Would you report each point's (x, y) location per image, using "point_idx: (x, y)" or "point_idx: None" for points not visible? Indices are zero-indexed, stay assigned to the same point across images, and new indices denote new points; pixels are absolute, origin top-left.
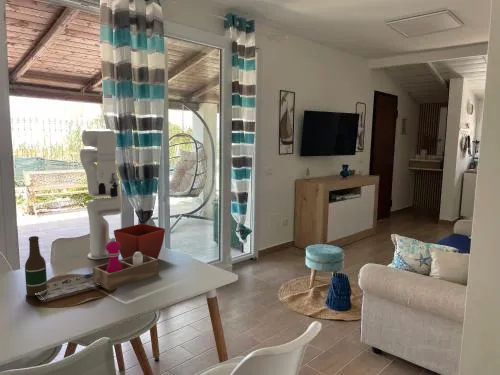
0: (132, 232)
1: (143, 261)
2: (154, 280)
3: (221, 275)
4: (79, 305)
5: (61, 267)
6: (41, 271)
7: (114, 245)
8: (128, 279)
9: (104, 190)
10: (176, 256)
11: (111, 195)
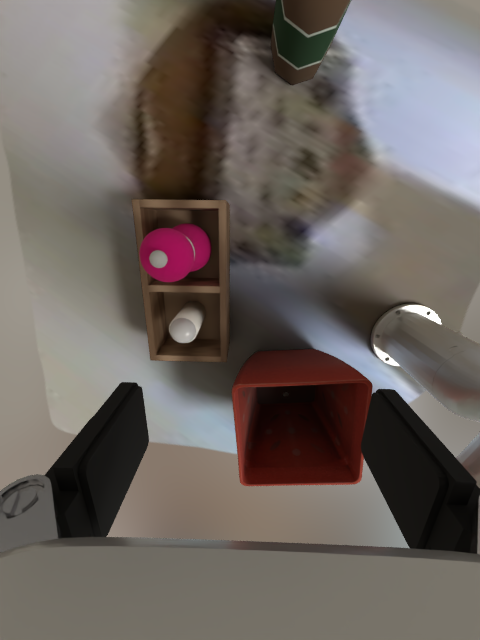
0: (350, 431)
1: (210, 348)
2: None
3: (76, 419)
4: (131, 101)
5: (422, 212)
6: (280, 3)
7: (140, 248)
8: None
9: (380, 473)
10: None
11: (115, 394)
